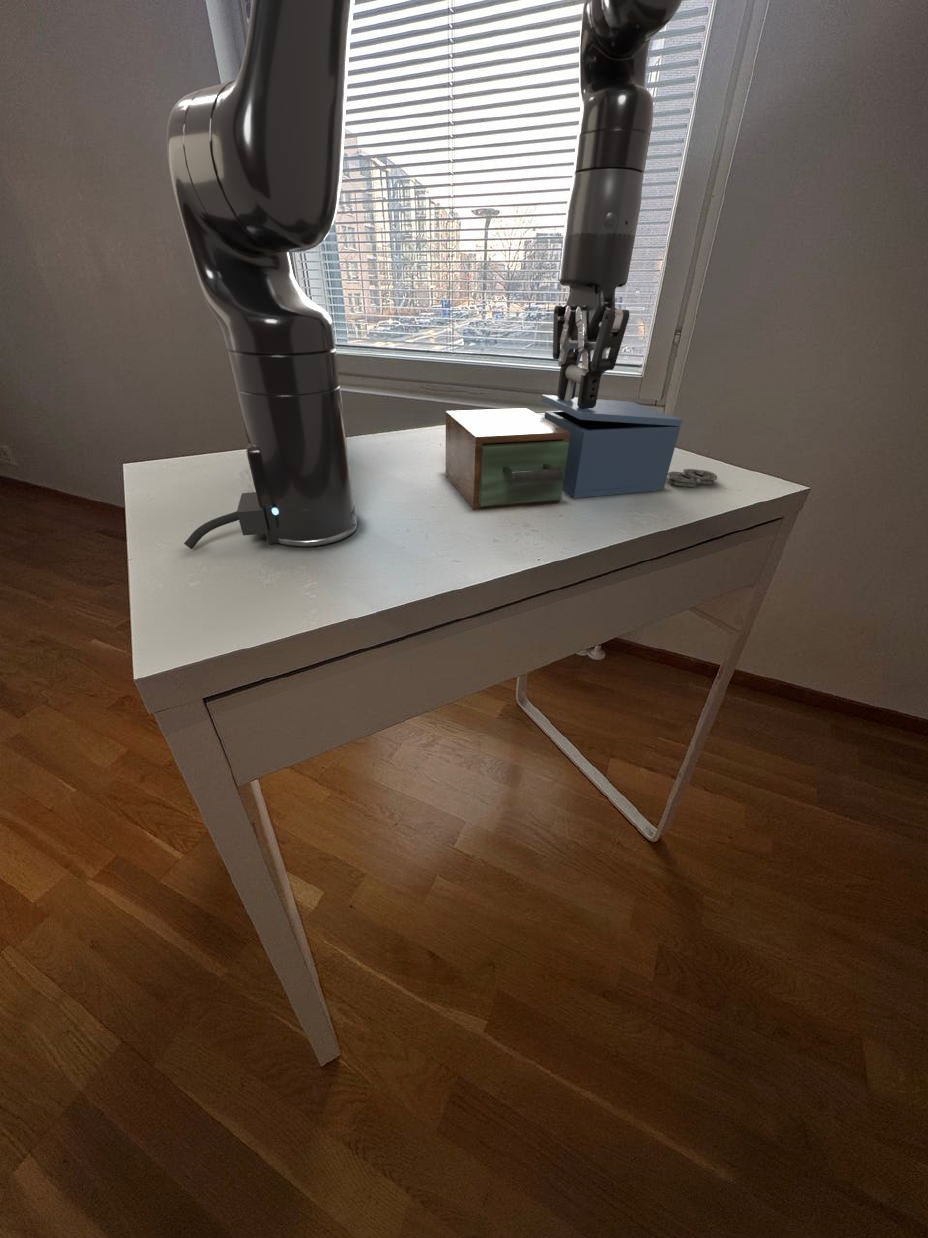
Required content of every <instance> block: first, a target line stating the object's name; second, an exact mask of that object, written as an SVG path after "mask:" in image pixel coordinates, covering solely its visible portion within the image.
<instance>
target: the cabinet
mask: <svg viewBox="0 0 928 1238" xmlns="http://www.w3.org/2000/svg"><path fill="white" fill-rule="evenodd" d="M569 437H570V432H569V431H567V430H565V429H563V428H562V427H560V426H558V425H556V424H554V423H552V422H551V421H549V420H547V419H545V418H544V417H543V416H541V415H540V414H538V413H536V412H534V411H532V410H530V408H529V409H528V408H527V407H523V408H522V407H521V408H520V407H519V408H493V409H491V408H490V409H467V410H463V409H462V410H446V411H445V477H447V479H448V480H449V481H450V483H451V484H452V485H453V486H454V488H455V489H456V490H457V491H458V494H459V495H460V496H461V497H462V498H463V499H464V501H465V502H466V503H467V504H468V506H469V507H470V508H471V510H472V511H481V510H490V509H491V510H493V509H502V508H503V509H504V508H515V507H526V506H527V507H528V506H536V505H547V504H548V505H550V504H558V503H561V499H560V500H549V501H537V502H526V503H515V504H503V505H492V506H481V505H480V504H479V503H478V499H479V475H480V451H481V445H482V444H488V443H507V442H525V441H543V440H554V441H566V442H568V443H569Z"/></svg>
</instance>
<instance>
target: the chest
mask: <svg viewBox="0 0 928 1238" xmlns="http://www.w3.org/2000/svg"><path fill="white" fill-rule="evenodd" d="M543 418H545V419H547V420H549V421H551V422H552V423H554V424H556V425H558V426H560V427H562V428H563V429H565V430H567V431H569V432H570V437H569V446H568V453H567V460H566V467H565V474H564V481H563V488H562V491H564V492H565V493H566V494H567V495H569V496H570V497H572V499H580V498H593V497H603V496H613V495H625V494H636V493H638V494H639V493H646V492H647V493H649V492H650V493H651V492H658V491H660V492H661V491H664V490H665V486H666V481H667V477H668V473H669V472H670V467H671V463H672V460H673V455H674V452H675V449H676V444H677V440H678V437H679V434H680V430H681V426H669V425H653V424H637V423H622V422H606V421H591V420H580V419H578V418H576V417H574V416H572V415H570V414H567V413H565V412H563V411H561V410H547V411H544V417H543Z"/></svg>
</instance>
